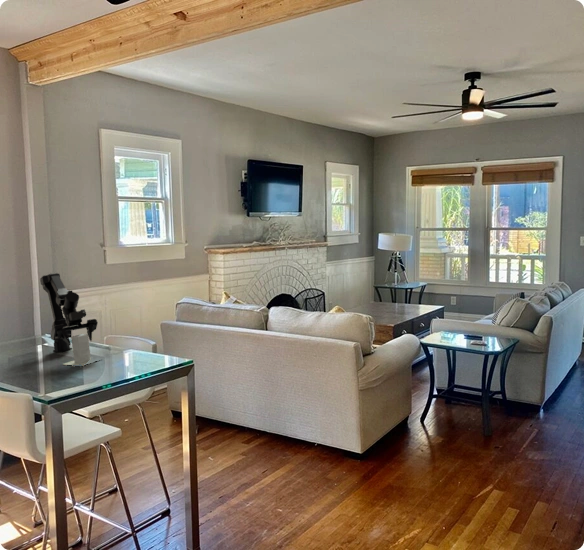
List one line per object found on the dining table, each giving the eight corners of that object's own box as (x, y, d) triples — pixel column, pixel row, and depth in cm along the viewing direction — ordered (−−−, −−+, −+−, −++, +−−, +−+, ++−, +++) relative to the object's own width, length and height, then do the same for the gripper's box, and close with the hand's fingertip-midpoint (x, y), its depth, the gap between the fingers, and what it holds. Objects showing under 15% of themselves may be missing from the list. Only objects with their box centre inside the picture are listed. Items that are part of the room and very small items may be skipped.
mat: (84, 357, 254) (84, 356, 254) (102, 359, 248) (102, 359, 248) (62, 364, 244) (62, 364, 243) (81, 367, 238) (81, 366, 238)
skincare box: (84, 359, 250) (81, 333, 248) (91, 359, 248) (88, 334, 246) (73, 363, 244) (70, 336, 243) (80, 363, 242) (77, 337, 241)
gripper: (51, 307, 241) (60, 336, 234) (94, 301, 252) (104, 328, 245) (49, 322, 249) (58, 350, 241) (90, 316, 260) (100, 342, 252)
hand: (80, 342), depth 245 cm, fingers open, 9 cm apart
